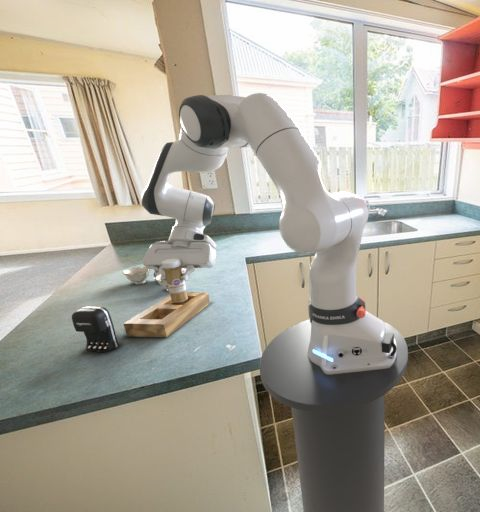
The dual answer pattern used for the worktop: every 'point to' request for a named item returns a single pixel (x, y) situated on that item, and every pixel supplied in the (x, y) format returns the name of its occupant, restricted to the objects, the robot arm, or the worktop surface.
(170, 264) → the sprinkles bottle
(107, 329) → the battery charger
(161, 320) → the socket block
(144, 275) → the chinaware
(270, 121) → the robot arm
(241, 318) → the worktop surface
